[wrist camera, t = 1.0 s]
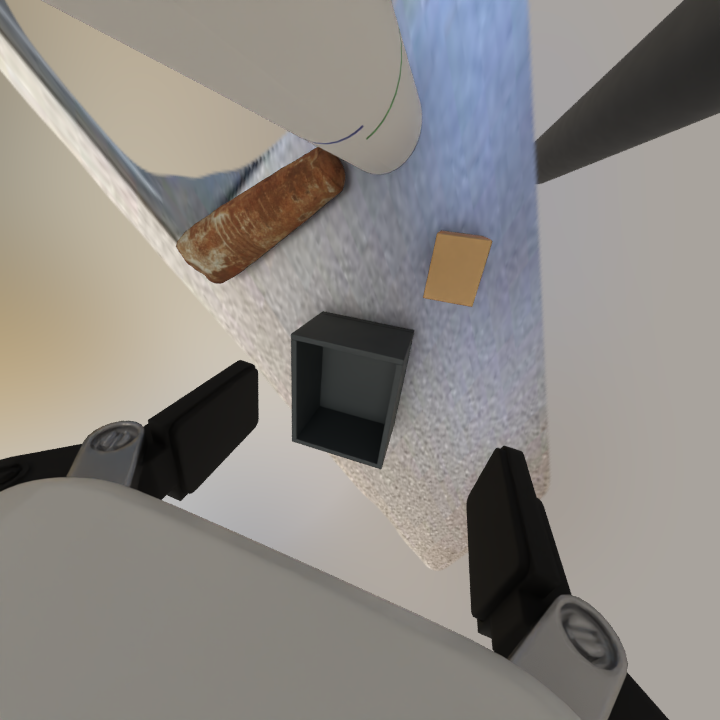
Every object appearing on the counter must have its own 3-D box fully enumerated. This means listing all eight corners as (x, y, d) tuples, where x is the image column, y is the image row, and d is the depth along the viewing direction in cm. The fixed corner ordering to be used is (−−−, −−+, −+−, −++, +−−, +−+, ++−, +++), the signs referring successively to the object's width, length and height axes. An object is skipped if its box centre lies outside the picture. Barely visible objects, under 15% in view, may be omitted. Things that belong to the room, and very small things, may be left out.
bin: (322, 311, 34) (290, 333, 27) (414, 330, 32) (404, 360, 25) (318, 405, 41) (291, 441, 34) (393, 426, 39) (381, 469, 32)
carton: (440, 230, 27) (436, 233, 21) (484, 235, 26) (492, 240, 20) (428, 283, 29) (422, 298, 24) (468, 290, 28) (472, 307, 23)
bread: (204, 232, 34) (163, 234, 29) (335, 137, 26) (309, 118, 21) (233, 281, 36) (199, 291, 31) (363, 206, 28) (345, 204, 23)
